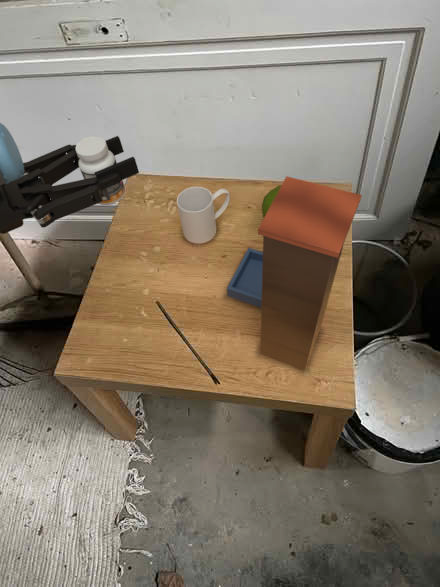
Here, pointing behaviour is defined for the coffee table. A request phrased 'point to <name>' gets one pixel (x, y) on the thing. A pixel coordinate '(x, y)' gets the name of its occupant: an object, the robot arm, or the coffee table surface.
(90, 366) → the coffee table surface
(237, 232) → the coffee table surface
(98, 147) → the pill bottle
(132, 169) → the robot arm
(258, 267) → the blue tray
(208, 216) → the mug
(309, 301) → the stand
